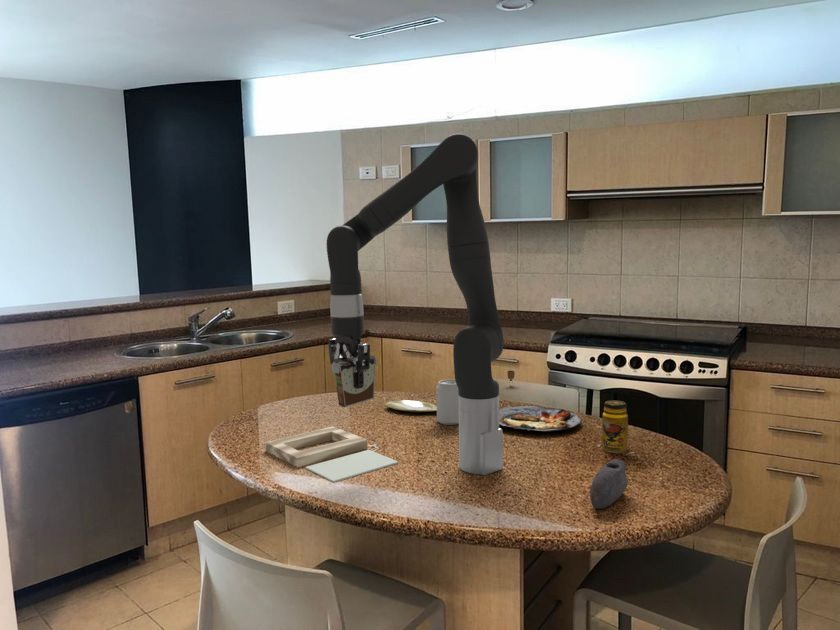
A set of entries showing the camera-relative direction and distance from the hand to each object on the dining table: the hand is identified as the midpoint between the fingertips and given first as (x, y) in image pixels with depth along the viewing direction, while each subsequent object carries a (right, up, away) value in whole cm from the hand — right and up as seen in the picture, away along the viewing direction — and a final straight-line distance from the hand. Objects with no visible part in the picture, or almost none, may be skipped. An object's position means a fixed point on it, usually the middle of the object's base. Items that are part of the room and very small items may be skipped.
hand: (350, 385), depth 156 cm
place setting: (+37, -9, +79) cm, 88 cm away
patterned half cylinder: (0, -4, +1) cm, 4 cm away
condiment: (+64, -17, +11) cm, 67 cm away
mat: (0, -19, +2) cm, 19 cm away
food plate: (+49, -15, +34) cm, 61 cm away
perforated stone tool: (+54, -21, -20) cm, 61 cm away
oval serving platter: (+21, -14, +46) cm, 53 cm away
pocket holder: (-10, -18, +15) cm, 25 cm away
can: (+25, -15, +37) cm, 47 cm away
